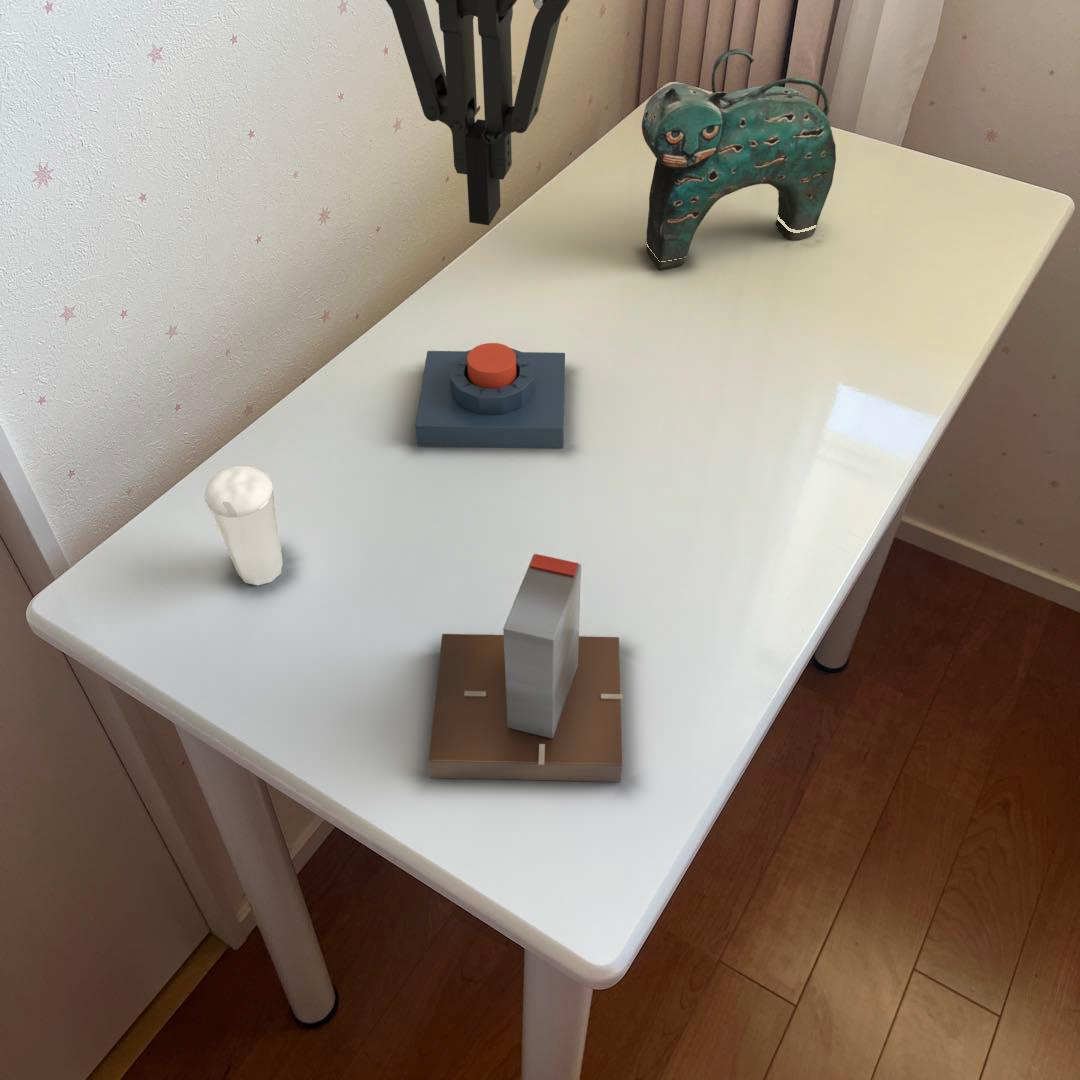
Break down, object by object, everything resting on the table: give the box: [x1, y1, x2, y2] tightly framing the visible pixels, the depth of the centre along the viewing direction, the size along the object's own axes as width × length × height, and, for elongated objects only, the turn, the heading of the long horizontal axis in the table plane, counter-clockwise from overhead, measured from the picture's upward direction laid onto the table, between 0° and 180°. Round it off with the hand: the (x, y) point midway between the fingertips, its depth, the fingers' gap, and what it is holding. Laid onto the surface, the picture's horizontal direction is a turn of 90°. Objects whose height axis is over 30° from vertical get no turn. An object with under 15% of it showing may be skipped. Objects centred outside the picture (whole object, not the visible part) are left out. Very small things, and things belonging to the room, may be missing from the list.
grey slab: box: [502, 553, 582, 738], centre depth 67 cm, size 6×3×10 cm, turn 163°
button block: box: [415, 347, 566, 449], centre depth 92 cm, size 12×10×4 cm
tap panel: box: [427, 633, 624, 783], centre depth 72 cm, size 12×10×2 cm
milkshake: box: [203, 465, 284, 586], centre depth 78 cm, size 5×5×10 cm
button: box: [467, 342, 516, 389], centre depth 91 cm, size 4×4×2 cm
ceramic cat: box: [641, 48, 837, 271], centre depth 104 cm, size 20×6×20 cm, turn 109°
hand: (485, 214), depth 81 cm, fingers closed
